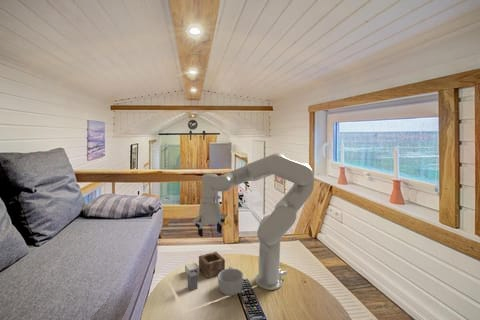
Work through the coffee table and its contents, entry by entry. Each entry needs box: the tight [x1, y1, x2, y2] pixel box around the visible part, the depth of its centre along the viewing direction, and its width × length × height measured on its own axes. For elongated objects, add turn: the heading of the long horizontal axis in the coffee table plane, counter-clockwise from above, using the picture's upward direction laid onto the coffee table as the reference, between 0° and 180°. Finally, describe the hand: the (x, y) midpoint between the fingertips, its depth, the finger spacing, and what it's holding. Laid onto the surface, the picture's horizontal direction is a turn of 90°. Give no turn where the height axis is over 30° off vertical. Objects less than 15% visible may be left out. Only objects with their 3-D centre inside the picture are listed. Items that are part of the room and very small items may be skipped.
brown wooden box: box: [198, 251, 226, 280], centre depth 122 cm, size 10×10×8 cm
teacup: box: [217, 266, 244, 297], centre depth 109 cm, size 14×11×8 cm
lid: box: [187, 271, 198, 292], centre depth 108 cm, size 10×10×8 cm
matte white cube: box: [184, 261, 200, 276], centre depth 120 cm, size 5×6×5 cm
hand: (209, 234), depth 120 cm, fingers open, 9 cm apart
